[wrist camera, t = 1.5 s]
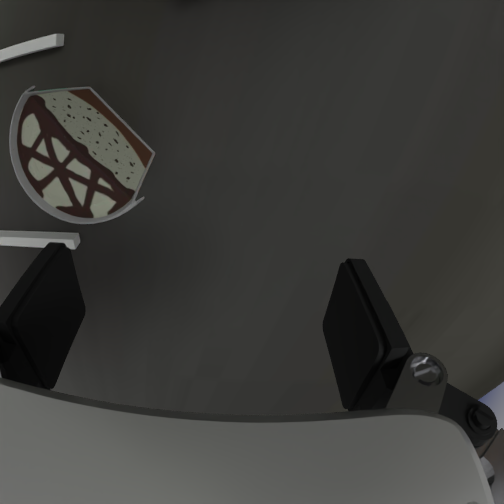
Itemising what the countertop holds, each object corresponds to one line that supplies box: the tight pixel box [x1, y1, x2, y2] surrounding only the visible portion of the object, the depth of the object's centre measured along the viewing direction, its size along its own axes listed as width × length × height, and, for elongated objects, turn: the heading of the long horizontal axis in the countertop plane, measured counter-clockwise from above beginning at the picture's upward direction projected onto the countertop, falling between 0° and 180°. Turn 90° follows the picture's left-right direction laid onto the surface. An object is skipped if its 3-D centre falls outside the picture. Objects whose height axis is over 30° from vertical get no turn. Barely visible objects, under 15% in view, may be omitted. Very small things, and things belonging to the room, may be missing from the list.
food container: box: [9, 86, 156, 224], centre depth 23 cm, size 12×6×10 cm, turn 39°
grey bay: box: [0, 34, 80, 249], centre depth 25 cm, size 15×22×2 cm
